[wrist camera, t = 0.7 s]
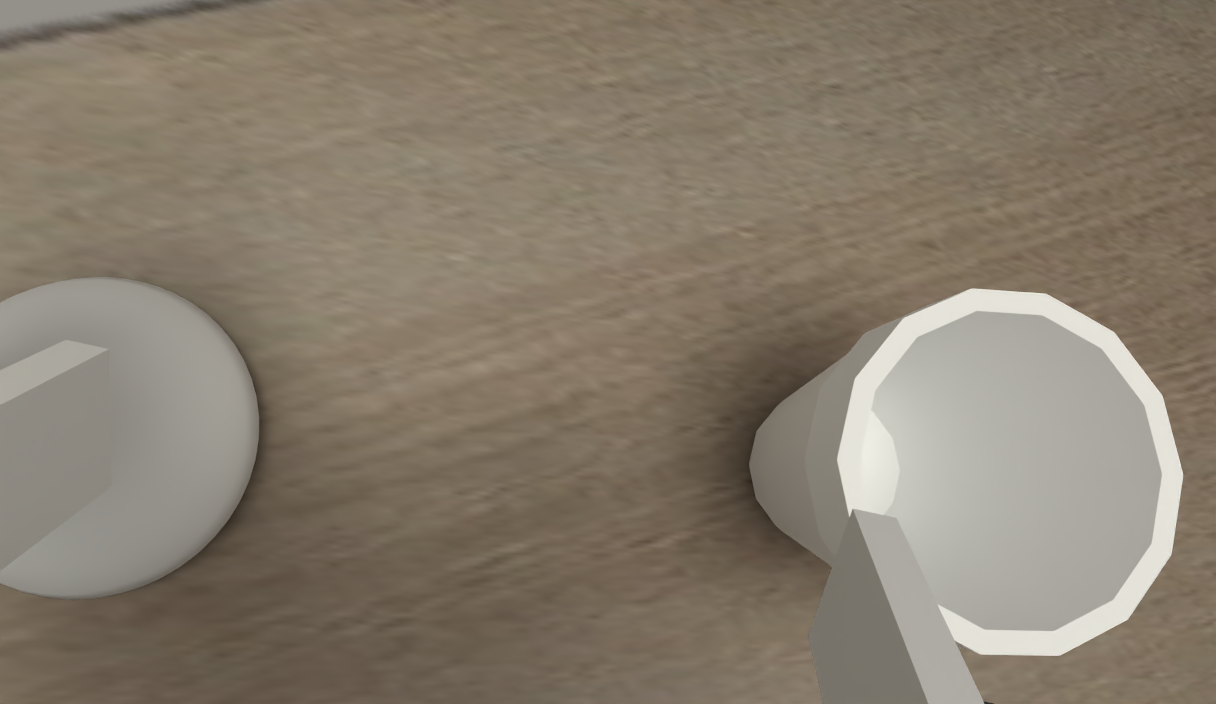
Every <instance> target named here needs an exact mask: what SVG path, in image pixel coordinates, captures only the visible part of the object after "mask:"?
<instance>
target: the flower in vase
mask: <svg viewBox="0 0 1216 704" xmlns="http://www.w3.org/2000/svg"><path fill="white" fill-rule="evenodd" d="M64 340H70V341H74V342H79V343H84V344H88V345H93V346H98V347H102V348H107V349H109V377H110V424H111V471H112V486H111V487H110V488H109V489H107V490H106V491H105V492H103V493H102V494H101V495H99V496H98V497H97V498H95V499H94V500H93V501H91V502H90V503H89V504H88V505H86V506H85V507H84V508H82V509H81V510H80V511H78V512H77V513H76V514H74V515H73V516H72V517H70V518H69V519H68V520H67V521H65V522H64V523H63V524H61V525H60V526H59V527H57V528H56V529H55V530H53V531H52V532H51V533H49V534H48V535H47V536H46V537H44V538H43V539H42V540H40V541H39V542H38V543H36V544H35V545H34V546H32V547H31V548H30V549H28V550H27V551H26V552H25V553H23V554H22V555H21V556H19V557H18V558H17V559H15V560H14V561H13V562H11V563H10V564H9V565H7V566H6V567H5V568H4V569H2V570H1V571H0V583H1V584H2V585H4V586H7V587H10V588H13V589H15V590H18V591H21V592H24V593H27V594H32V595H37V596H42V597H46V598H56V599H69V600H76V599H94V598H100V597H106V596H111V595H117V594H121V593H124V592H127V591H130V590H134V589H137V588H140V587H142V586H145V585H147V584H149V583H151V582H154V581H156V580H158V579H160V578H162V577H164V576H166V575H167V574H169V573H171V572H172V571H174V570H176V569H177V568H179V567H181V566H182V565H183V564H185V563H186V562H187V561H189V560H190V559H191V558H192V557H194V556H195V555H196V554H198V553H199V552H200V551H201V550H202V549H203V548H204V547H205V546H206V545H207V544H208V543H209V542H210V541H211V540H212V539H213V538H214V537H215V536H216V535H217V534H218V532H219V531H220V530H221V529H222V527H223V526H224V525H225V524H226V522H227V521H228V520H229V519H230V517H231V515H232V514H233V512H234V510H235V509H236V507H237V505H238V504H239V502H240V500H241V498H242V496H243V494H244V491H245V489H246V487H247V485H248V482H249V480H250V477H251V473H252V470H253V467H254V463H255V460H256V454H257V448H258V441H259V412H258V404H257V397H256V393H255V389H254V386H253V382H252V378H251V376H250V373H249V371H248V369H247V366H246V364H245V361H244V359H243V358H242V356H241V354H240V353H239V351H238V349H237V348H236V346H235V344H234V343H233V342H232V340H231V339H230V338H229V337H228V335H227V334H226V333H225V332H224V330H223V329H222V328H221V327H220V326H219V325H218V324H217V323H216V322H215V321H214V320H213V319H212V318H211V317H210V316H209V315H208V314H207V313H205V312H204V311H202V310H201V309H200V308H198V307H197V306H195V305H194V304H193V303H191V302H190V301H188V300H186V299H184V298H182V297H181V296H179V295H177V294H175V293H173V292H171V291H168V290H166V289H163V288H160V287H158V286H155V285H153V284H149V283H145V282H140V281H136V280H132V279H124V278H116V277H84V278H76V279H68V280H63V281H59V282H55V283H51V284H47V285H43V286H39V287H36V288H33V289H30V290H28V291H25V292H22V293H20V294H17V295H14V296H12V297H10V298H8V299H6V300H4V301H2V302H1V303H0V370H2V369H4V368H6V367H8V366H10V365H12V364H15V363H17V362H19V361H21V360H23V359H25V358H28V357H30V356H32V355H34V354H36V353H38V352H40V351H43V350H45V349H47V348H49V347H51V346H53V345H55V344H58V343H60V342H62V341H64Z"/></svg>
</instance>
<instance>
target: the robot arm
mask: <svg viewBox="0 0 1216 704" xmlns="http://www.w3.org/2000/svg"><path fill="white" fill-rule="evenodd" d="M111 486H112V471H111V424H110V377H109V349H107V348H102V347H98V346H93V345H88V344H84V343H79V342H74V341H70V340H64V341H62V342H60V343H58V344H55V345H53V346H51V347H49V348H47V349H45V350H43V351H40V352H38V353H36V354H34V355H32V356H30V357H28V358H25V359H23V360H21V361H19V362H17V363H15V364H12V365H10V366H8V367H6V368H4V369H2V370H0V571H1V570H2V569H4V568H5V567H6V566H7V565H9V564H10V563H11V562H13V561H14V560H15V559H17V558H18V557H19V556H21V555H22V554H23V553H25V552H26V551H27V550H28V549H30V548H31V547H32V546H34V545H35V544H36V543H38V542H39V541H40V540H42V539H43V538H44V537H46V536H47V535H48V534H49V533H51V532H52V531H53V530H55V529H56V528H57V527H59V526H60V525H61V524H63V523H64V522H65V521H67V520H68V519H69V518H70V517H72V516H73V515H74V514H76V513H77V512H78V511H80V510H81V509H82V508H84V507H85V506H86V505H88V504H89V503H90V502H91V501H93V500H94V499H95V498H97V497H98V496H99V495H101V494H102V493H103V492H105V491H106V490H107V489H109V488H110V487H111ZM808 638H809V643H810V647H811V652H812V656H813V661H814V665H815V669H816V674H817V678H818V683H819V687H820V692H821V696H822V701H823V704H993V703H988V702H983V700H982V697H981V695H980V693H979V691H978V689H977V687H976V685H975V683H974V681H973V678H972V676H971V674H970V672H969V670H968V668H967V666H966V664H965V662H964V659H963V657H962V655H961V653H960V651H959V649H958V647H957V645H956V643H955V640H954V638H953V636H952V634H951V632H950V630H949V628H948V626H947V624H946V621H945V619H944V617H943V615H942V613H941V611H940V609H939V607H938V605H937V602H936V600H935V598H934V596H933V594H932V592H931V590H930V588H929V586H928V583H927V581H926V579H925V577H924V575H923V573H922V571H921V569H920V567H919V564H918V562H917V560H916V558H915V556H914V554H913V552H912V550H911V548H910V545H909V543H908V541H907V539H906V537H905V535H904V533H903V531H902V529H901V526H900V524H899V522H898V520H897V518H895V517H890V516H886V515H881V514H876V513H872V512H867V511H862V510H858V509H852V512H851V515H850V518H849V520H848V523H847V526H846V529H845V532H844V535H843V538H842V540H841V543H840V546H839V549H838V552H837V555H836V558H835V560H834V563H833V566H832V569H831V572H830V575H829V578H828V580H827V583H826V586H825V589H824V592H823V595H822V598H821V600H820V603H819V606H818V609H817V612H816V615H815V618H814V621H813V623H812V626H811V629H810V632H809V635H808Z"/></svg>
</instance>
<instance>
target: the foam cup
mask: <svg viewBox="0 0 1216 704" xmlns="http://www.w3.org/2000/svg"><path fill="white" fill-rule="evenodd" d="M749 468H750V473H751V478H752V483H753V488H754V493H755V498H756V500H757V501H758V502H759V504H760V505H761V506H762V508H763V509H764V511H765V512H766V513H767V515H768V516H769V517H770V519H771V520H772V522H773V523H774V524H775V526H776V527H778V528H779V529H780V530H781V531H782V532H784V533H785V534H787V535H788V536H789V537H791V538H792V539H794V540H795V541H796V542H798V543H799V544H801V545H802V546H803V547H805V548H806V549H808V550H809V551H811V552H812V553H813V554H815V555H816V556H818V557H819V558H820V559H822V560H823V561H825V562H826V563H828V564H829V565H830V566H833V563H834V560H835V558H836V555H837V552H838V549H839V546H840V543H841V540H842V538H843V535H844V532H845V529H846V526H847V523H848V520H849V518H850V515H851V512H852V509H858V510H862V511H867V512H872V513H876V514H881V515H886V516H890V517H895V518H897V520H898V522H899V524H900V526H901V529H902V531H903V533H904V535H905V537H906V539H907V541H908V543H909V545H910V548H911V550H912V552H913V554H914V556H915V558H916V560H917V562H918V564H919V567H920V569H921V571H922V573H923V575H924V577H925V579H926V581H927V583H928V586H929V588H930V590H931V592H932V594H933V596H934V598H935V600H936V602H937V605H938V607H939V609H940V611H941V613H942V615H943V617H944V619H945V621H946V624H947V626H948V628H949V630H950V632H951V634H952V636H953V638H954V640H955V643H956V645H958V646H960V647H963V648H965V649H968V650H970V651H973V652H975V653H978V654H989V655H1046V656H1060V655H1062V654H1064V653H1066V652H1068V651H1069V650H1071V649H1073V648H1075V647H1077V646H1079V645H1081V644H1083V643H1084V642H1086V641H1088V640H1090V639H1092V638H1094V637H1096V636H1098V635H1100V634H1101V633H1103V632H1105V631H1107V630H1109V629H1111V628H1113V627H1115V626H1116V625H1118V624H1120V623H1122V622H1124V621H1126V620H1128V618H1129V617H1130V615H1131V614H1132V612H1133V611H1134V609H1135V608H1136V607H1137V605H1138V604H1139V602H1140V601H1141V599H1142V598H1143V596H1144V595H1145V593H1146V592H1147V590H1148V589H1149V587H1150V586H1151V584H1152V583H1153V581H1154V580H1155V578H1156V577H1157V575H1158V574H1159V572H1160V571H1161V569H1162V568H1163V566H1164V565H1165V563H1166V562H1167V560H1168V559H1169V557H1170V556H1171V554H1172V547H1173V541H1174V534H1175V527H1176V521H1177V514H1178V507H1179V500H1180V494H1181V487H1182V480H1183V472H1182V468H1181V464H1180V461H1179V457H1178V453H1177V449H1176V445H1175V442H1174V438H1173V434H1172V430H1171V426H1170V423H1169V419H1168V415H1167V411H1166V407H1165V404H1164V400H1163V396H1162V395H1161V393H1160V392H1159V391H1158V389H1157V388H1156V387H1155V386H1154V384H1153V383H1152V382H1151V380H1150V379H1149V378H1148V376H1147V375H1146V374H1145V372H1144V371H1143V370H1142V368H1141V367H1140V366H1139V364H1138V363H1137V362H1136V360H1135V359H1134V358H1133V357H1132V355H1131V354H1130V353H1129V351H1128V350H1127V349H1126V347H1125V346H1124V345H1123V343H1122V342H1121V341H1120V339H1119V338H1118V337H1117V335H1116V334H1115V333H1114V332H1113V331H1111V330H1109V329H1108V328H1106V327H1104V326H1102V325H1101V324H1099V323H1097V322H1095V321H1094V320H1092V319H1090V318H1088V317H1086V316H1085V315H1083V314H1081V313H1079V312H1078V311H1076V310H1074V309H1072V308H1071V307H1069V306H1067V305H1065V304H1064V303H1062V302H1060V301H1058V300H1056V299H1055V298H1053V297H1051V296H1049V295H1048V294H1042V293H1028V292H1014V291H999V290H985V289H969V290H967V291H964V292H961V293H959V294H956V295H954V296H951V297H948V298H946V299H943V300H941V301H938V302H936V303H933V304H930V305H928V306H925V307H923V308H921V309H918V310H916V311H914V312H912V313H909V314H907V315H905V316H902V317H900V318H898V319H895V320H893V321H891V322H888V323H886V324H884V325H882V326H879V327H877V328H875V329H872V330H870V331H868V332H865V333H864V334H863V336H862V337H861V338H860V339H859V340H858V342H857V343H856V344H855V345H854V347H853V348H852V349H851V350H850V352H849V353H848V354H847V355H845V356H844V357H842V358H841V359H840V360H838V361H837V362H836V363H834V364H833V365H831V366H830V367H829V368H827V369H826V370H825V371H823V372H822V373H820V374H819V375H818V376H816V377H815V378H813V379H812V380H811V381H809V382H808V383H807V384H805V385H804V386H802V387H801V388H800V389H798V390H797V391H796V392H794V393H793V394H791V395H790V396H789V397H787V398H786V399H785V400H783V401H782V402H781V403H780V404H779V405H777V406H776V408H775V409H774V410H773V411H772V413H771V414H770V415H769V416H768V417H767V419H766V420H765V421H764V422H763V424H762V425H761V426H760V427H759V428H758V430H757V431H756V436H755V440H754V444H753V448H752V452H751V457H750V461H749Z"/></svg>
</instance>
